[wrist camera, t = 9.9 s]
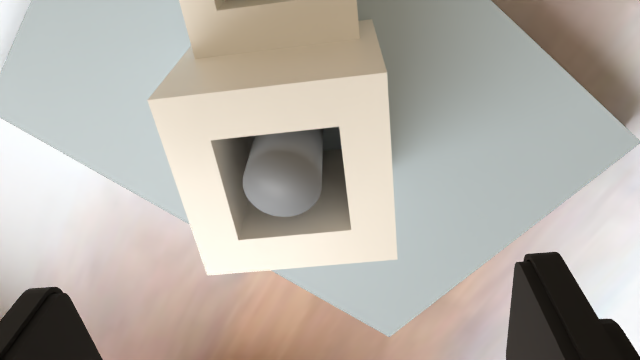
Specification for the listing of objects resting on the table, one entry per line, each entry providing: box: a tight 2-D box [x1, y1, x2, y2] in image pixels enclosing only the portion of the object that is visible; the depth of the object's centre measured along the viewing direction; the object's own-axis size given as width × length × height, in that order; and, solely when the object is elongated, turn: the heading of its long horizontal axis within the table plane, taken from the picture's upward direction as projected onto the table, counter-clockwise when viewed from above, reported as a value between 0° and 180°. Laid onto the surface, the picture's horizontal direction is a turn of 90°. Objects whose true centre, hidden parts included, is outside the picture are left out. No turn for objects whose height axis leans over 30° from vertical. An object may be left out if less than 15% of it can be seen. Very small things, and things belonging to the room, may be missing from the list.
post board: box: [0, 0, 640, 337], centre depth 16 cm, size 20×14×6 cm
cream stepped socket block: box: [147, 0, 398, 275], centre depth 14 cm, size 11×6×5 cm, turn 7°
